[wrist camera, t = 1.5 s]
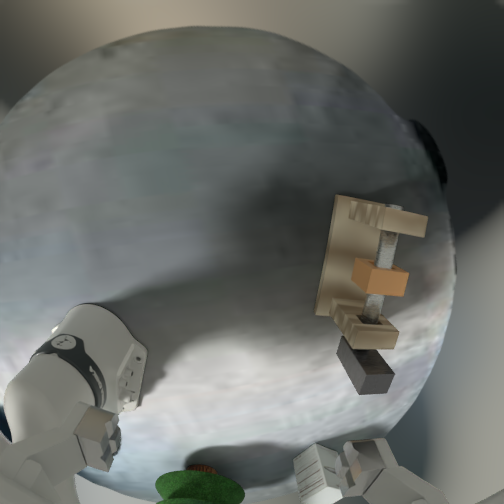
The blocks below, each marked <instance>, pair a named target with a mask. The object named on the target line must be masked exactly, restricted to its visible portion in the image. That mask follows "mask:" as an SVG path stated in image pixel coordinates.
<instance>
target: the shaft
mask: <svg viewBox="0 0 504 504" xmlns="http://www.w3.org/2000/svg"><path fill="white" fill-rule="evenodd" d="M385 207H388V208H393V209H397V210H402V211H403V208H404V207H402V206H397V205H393V204H388V203H385ZM398 236H399V233H397V232H392V231H387V230H382V229H381V231H380V236H379V241H378V247H377V251H376V256H375V261H374V266H376V267H380V268H388V269H392V265H393V261H394V256H395V251H396V246H397V242H398ZM384 298H385V295H379V294H368V293H367V295H366V299H365V303H364V307H363V311H362V315H361V318H360V321H361V322H362V323H363V324H371V325H377V323H378V319H379V316H380V312H381V309H382V305H383V301H384ZM336 354H337V356H338V358H339V359H340V361H341V363H342V365H343V367H344V369H345V370H346V372H347V374H348V376H349V378H350V380H351V381H352V383H353V385H354V387H355V389H356V391H357V392H358V394H359V395H367V394H383V393H387V392H388V389H389V387H390V385H391V382H392V380H393V377H394V375H395V373H394V372H393V371H392V369H391V368H390V367H389V365H388V364H387V363H386V362H385V360H384V359H383V358H382V356H381V355H380V354H379V353H378V351H377V350H376V349H353V348H352V347H351V345H350V344H349V342H348V341H347V339H346V338H345V336H341V339H340V343H339V346H338V350H337V353H336Z"/></svg>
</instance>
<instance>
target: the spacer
mask: <svg viewBox="0 0 504 504" xmlns="http://www.w3.org/2000/svg"><path fill="white" fill-rule="evenodd" d="M374 261H375V260H369V259H362V258H355V263H354V267H353V272H352V277H351V280H352V281H353V282H354V283H355V284H356V285H357V286H359V287H360V288H361V289H362V290H363V291H364V292H365V293H368V294H379V295H391V296H404V292H405V288H406V284H407V281H408V277H409V273H408V272H406V271H404V270H403V269H401V268H399V267H397V266H396V265H394V264H393V265H392V269H388V268H380V267H376V266H374Z"/></svg>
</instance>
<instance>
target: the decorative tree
mask: <svg viewBox="0 0 504 504" xmlns="http://www.w3.org/2000/svg"><path fill="white" fill-rule="evenodd" d="M155 486H156V489H157V491H158V493H159V494H160V495H161V497H162V498H163V499H164V500H163V501H160V502H158V503H156V504H240V503H241V502H242V501H243V499H244V497H245V492H244V490H243V488H242V487H241V486H240V485H239V484H238V483H236V482H235V481H233V480H231V479H229V478H226V477H224V476H221V475H217V471H216V470H215V469H213V468H212V467H209V466H206V465H199V464H197V465H191V466H189V467H187V469H186V470H183V471H174V472H169V473H166V474H164V475H162V476H160V477H159V478H158V479H157V480H156V484H155Z"/></svg>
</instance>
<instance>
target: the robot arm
mask: <svg viewBox="0 0 504 504" xmlns="http://www.w3.org/2000/svg"><path fill="white" fill-rule="evenodd" d="M147 354H148V352H147V349H146V348H145V347H144V346H143V345H142V344H141V343H139V342H138V341H137V340H135V339H134V338H133V337H132V335H131V334H130V332H129V331H128V329H127V328H126V326H125V325H124V324H123V323H122V321H121V320H120V319H119V318H117V317H116V316H115V315H114V314H113V313H111V312H110V311H108V310H106V309H104V308H102V307H100V306H96V305H91V304H83V305H78V306H76V307H74V308H72V309H71V310H70V311H69V312H68V313H67V315H66V317H65V318H64V320H63V321H62V322H61V323H59V324H58V325H56V326H55V327H54V328H53V329H52V335H51V336H50V337H49V338H48V340H47V341H46V342H45V343H44V344H43V345H42V346H41V347H40V348H39V349H37V350H36V351H35V352H34V354H33V355H32V357H31V358H30V361H29V363H28V364H27V365H26V366H25V367H24V368H23V369H22V370H21V371H20V372H19V373H18V374H17V375H16V376H15V377H14V378H13V379H12V380H11V381H10V383H9V384H8V385H7V388H6V391H5V395H4V411H5V415H6V418H7V421H8V424H9V427H10V430H11V434H12V442H13V444H10V443H9V442H8V441H7V440H6V439H5V437H4V436H3V435H2V434H1V433H0V504H80V502H79V499H78V495H77V491H76V485H75V478H74V474H76V473H78V472H79V471H81V470H82V469H84V468H85V467H87V466H90V467H93V468H96V469H99V470H102V471H106V472H109V469H110V467H111V465H112V462H113V460H114V459H113V455H112V453H114V452H116V451H117V450H118V448H119V445H120V440H121V430H120V428H119V427H118V425H117V424H118V422H119V418H118V415H119V414H120V412H129V411H133V410H135V409H136V408H137V405H138V400H139V395H140V389H141V384H142V379H143V374H144V369H145V364H146V359H147ZM138 357H140V358H141V359H139V358H138ZM343 449H344V451H343V452H341V453H340V454H339V455H338V457H337V459H336V463H335V472H336V476H338V477H339V478H340V479H341V482H340V483H339V486H340V490H341V494H342V497H351V496H360V495H363V497H364V498H365V499H366V500H367V501H368V502H369V503H370V504H449V503H448V501H447V499H446V497H445V495H444V493H443V492H442V491H441V490H439V489H437V488H436V487H434V486H432V485H431V484H429V483H427V482H426V481H424V480H422V479H421V478H419V477H418V476H416V475H415V474H413V473H412V472H410V471H408V470H407V469H405V468H404V467H402V466H400V467H399V466H398V464H397V462H396V460H395V458H394V456H393V454H392V452H391V450H390V447H389V445H388V443H387V441H386V440H385V439H384V438H378V439H365V440H352V441H347V442H346V443H345V444H344V446H343ZM476 504H504V489H502V490H501V491H499V492H497V493H495V494H493V495H491V496H490V497H488V498H486V499H484V500H482V501H480V502H478V503H476Z"/></svg>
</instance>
